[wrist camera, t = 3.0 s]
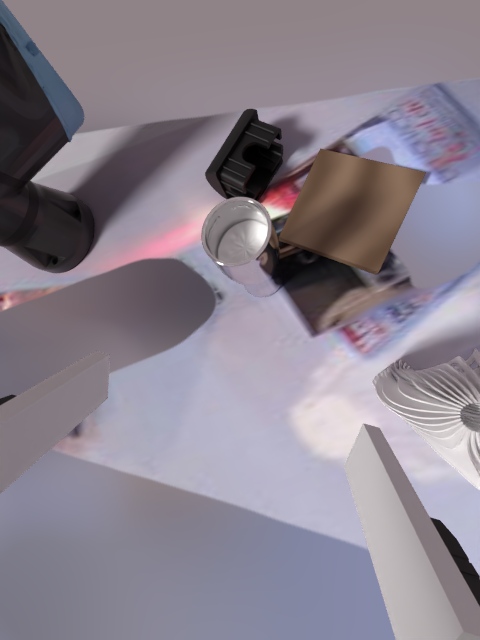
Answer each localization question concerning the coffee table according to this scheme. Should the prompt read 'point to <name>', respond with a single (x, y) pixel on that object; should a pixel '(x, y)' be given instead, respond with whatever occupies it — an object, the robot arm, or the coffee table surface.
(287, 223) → the walnut board
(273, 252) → the beer glass
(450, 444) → the white ridged vase
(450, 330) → the coffee table surface
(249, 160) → the end cap
